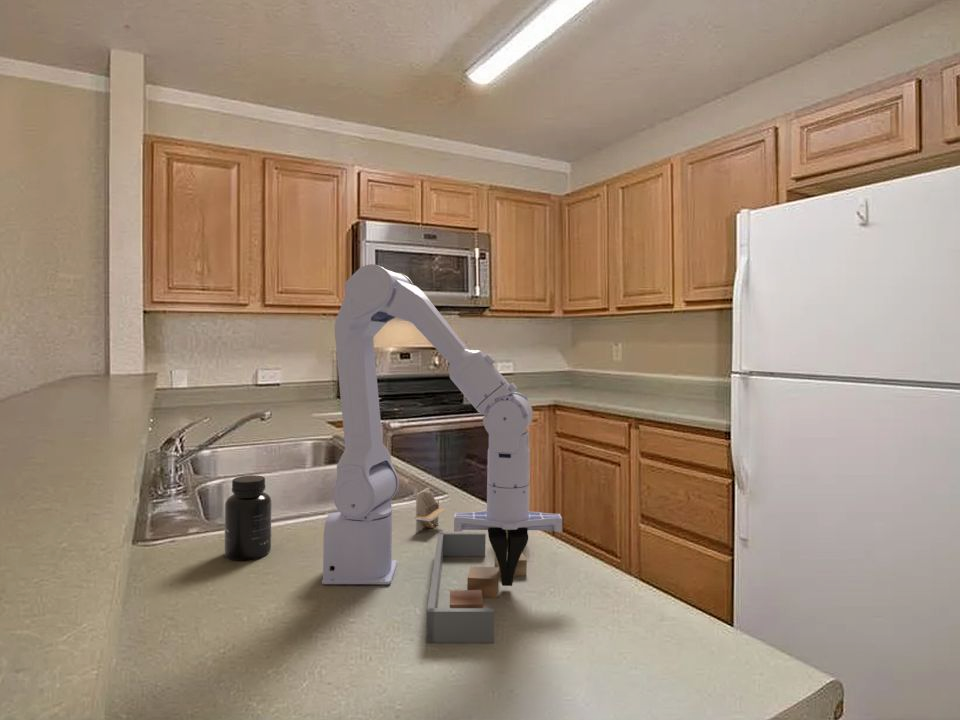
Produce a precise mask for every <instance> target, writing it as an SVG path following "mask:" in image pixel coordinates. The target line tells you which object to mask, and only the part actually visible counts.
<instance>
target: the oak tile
mask: <svg viewBox="0 0 960 720" xmlns="http://www.w3.org/2000/svg"><path fill="white" fill-rule="evenodd" d="M527 564H528V560H527V558H526V556H525V555H524V553H523V552H522V554H521V556H520V558H519V560H518V563H517V566H516V569H515V573H514V577H520V576H519V575H526V576H527V572H528V571H527V568H528V565H527ZM494 567H499V563H498V560H497V557H496V554H495V553H494ZM500 576H501V571H500V567H499V578H500Z"/></svg>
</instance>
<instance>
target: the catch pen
mask: <svg viewBox="0 0 960 720" xmlns="http://www.w3.org/2000/svg"><path fill="white" fill-rule="evenodd" d="M486 534H487V533H486V532H438V533H437V539H436V547H435V554H434V561H433V567H432V574H431V581H430V588H429V596H428V600H427V602H428V603H427V608H426V643H427V644H429V643H430V644H439V643H441V644H442V643H443V644H444V643H445V644H446V643H448V644H451V643H452V644H453V643H454V644H456V643H458V644H463V643H464V644H465V643H466V644H469V643H471V644H473V643H474V644H475V643H477V644H478V643H479V644H481V643H485V644H486V643H487V644H488V643H489V644H490V643H491V644H493V643H492V642H494V643H495V608H494V607H491V608H490V607H489V608H488V607H486V608H485V607H483V608H450V607H447V608H445V607H443V608H442V607H440V608H439V596H440V589H441V588H440V587H441V579H442V570H443V569H442V567H443V559H444V557H486V544H487V543H486V542H487V541H486V537H487V536H486Z"/></svg>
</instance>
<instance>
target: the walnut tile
mask: <svg viewBox="0 0 960 720" xmlns="http://www.w3.org/2000/svg"><path fill="white" fill-rule="evenodd" d="M499 580H500V577H499V567H495V566H478V565H477V566H475V565H474V566H473V565H471V566H469V571H468V573H467V580H466V581H467V585H466V586H467V589H466V590H482V598H488V597H492V599H498V597H499V596H498V594H499V587H500V586H499V585H500V584H499V583H500V581H499Z"/></svg>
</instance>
